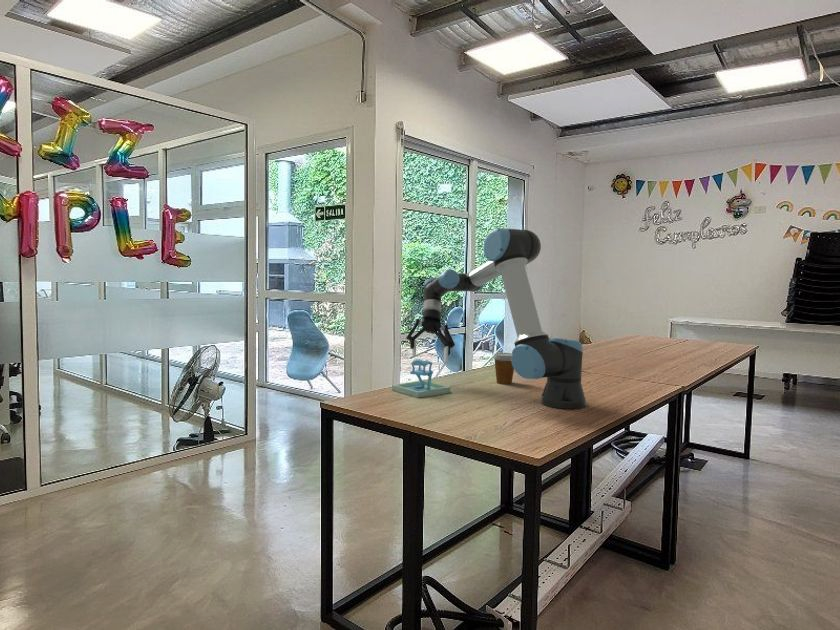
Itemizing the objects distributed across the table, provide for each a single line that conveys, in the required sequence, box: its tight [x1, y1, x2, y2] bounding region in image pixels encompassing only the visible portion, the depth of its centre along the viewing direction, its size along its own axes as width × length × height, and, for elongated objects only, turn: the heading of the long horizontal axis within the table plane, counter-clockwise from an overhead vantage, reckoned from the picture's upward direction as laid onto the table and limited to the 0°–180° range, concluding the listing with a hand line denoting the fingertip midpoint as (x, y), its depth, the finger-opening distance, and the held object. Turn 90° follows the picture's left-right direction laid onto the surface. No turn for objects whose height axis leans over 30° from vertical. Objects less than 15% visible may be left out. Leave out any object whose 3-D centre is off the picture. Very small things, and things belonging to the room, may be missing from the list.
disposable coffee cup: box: [492, 352, 515, 385], centre depth 231 cm, size 10×10×12 cm
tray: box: [391, 379, 452, 399], centre depth 212 cm, size 16×16×2 cm
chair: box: [408, 358, 434, 391], centre depth 212 cm, size 8×8×12 cm
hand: (429, 359), depth 221 cm, fingers open, 13 cm apart
